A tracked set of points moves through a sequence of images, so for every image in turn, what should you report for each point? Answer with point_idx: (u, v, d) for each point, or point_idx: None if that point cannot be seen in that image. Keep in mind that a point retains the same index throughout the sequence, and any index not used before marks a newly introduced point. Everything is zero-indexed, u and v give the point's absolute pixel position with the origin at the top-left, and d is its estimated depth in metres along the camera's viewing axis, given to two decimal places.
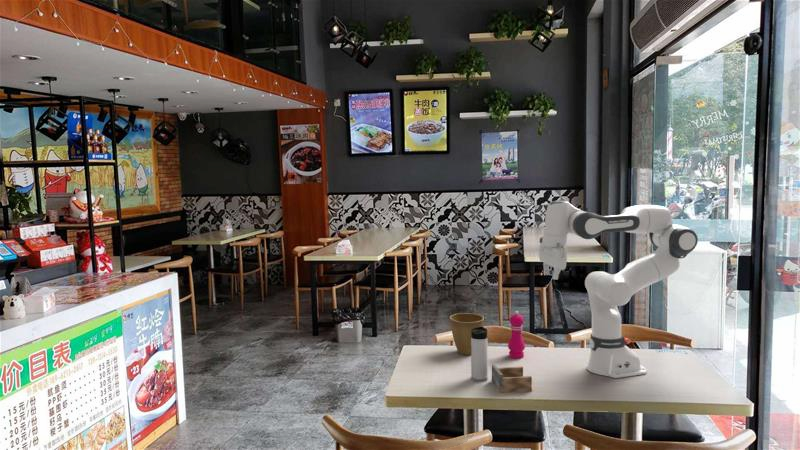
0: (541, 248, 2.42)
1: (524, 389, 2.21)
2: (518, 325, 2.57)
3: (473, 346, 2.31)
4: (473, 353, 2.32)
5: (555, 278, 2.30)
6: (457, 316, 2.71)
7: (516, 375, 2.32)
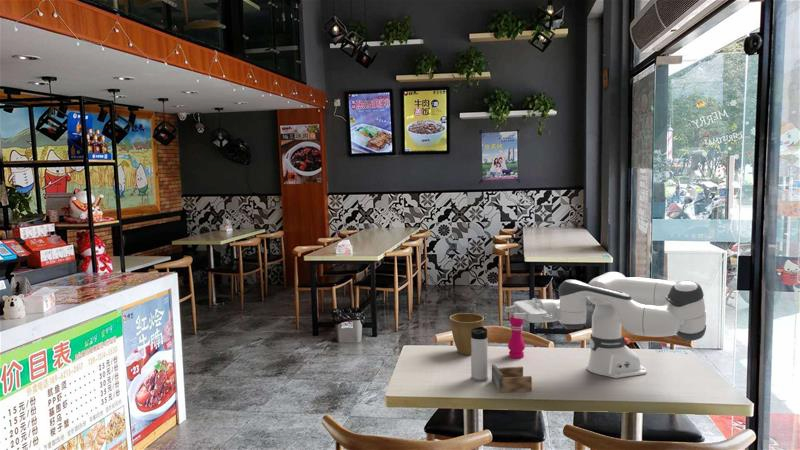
0: (527, 301, 2.42)
1: (524, 389, 2.21)
2: (518, 325, 2.57)
3: (473, 346, 2.31)
4: (473, 353, 2.32)
5: (515, 315, 2.28)
6: (457, 316, 2.71)
7: (516, 375, 2.32)
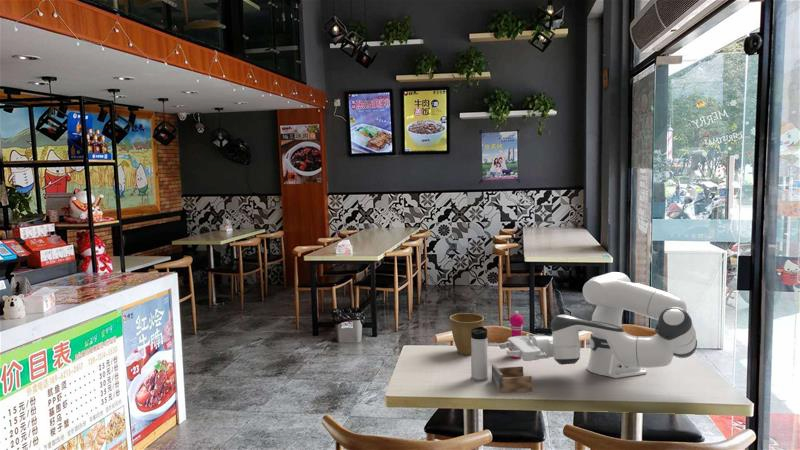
0: (521, 337, 2.43)
1: (524, 389, 2.21)
2: (518, 325, 2.57)
3: (473, 346, 2.31)
4: (473, 353, 2.32)
5: (509, 353, 2.29)
6: (457, 316, 2.71)
7: (516, 375, 2.32)
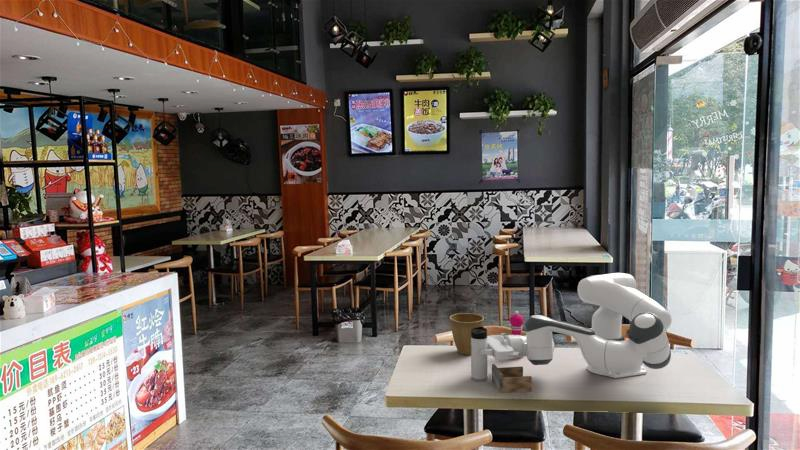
0: (496, 336, 2.42)
1: (524, 389, 2.21)
2: (518, 325, 2.57)
3: (473, 346, 2.32)
4: (473, 353, 2.32)
5: (481, 352, 2.29)
6: (457, 316, 2.71)
7: (516, 375, 2.32)
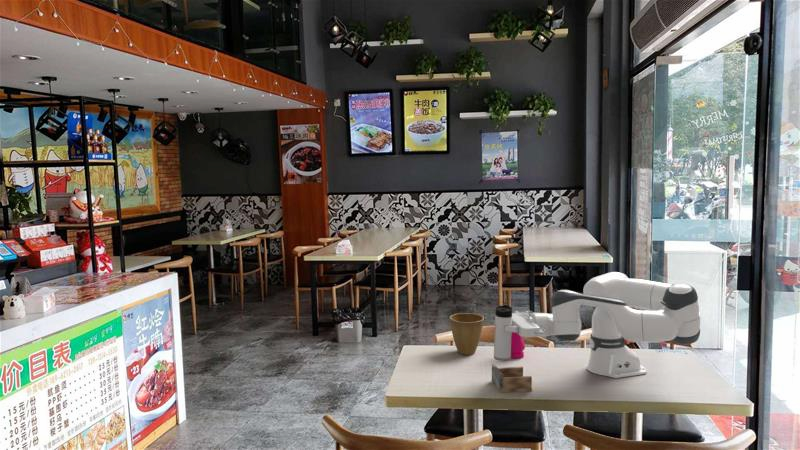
0: (520, 314, 2.35)
1: (524, 389, 2.21)
2: None
3: (497, 324, 2.25)
4: (497, 331, 2.25)
5: (506, 328, 2.22)
6: (457, 316, 2.71)
7: (516, 375, 2.32)
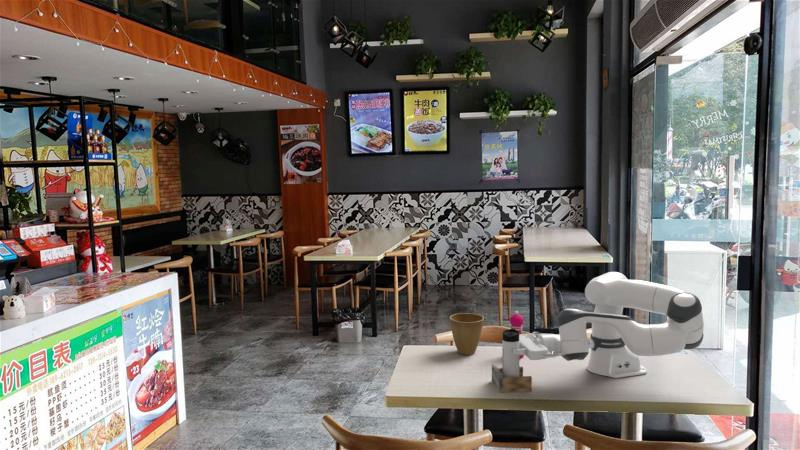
0: (527, 335, 2.34)
1: (524, 389, 2.21)
2: (518, 325, 2.57)
3: (505, 349, 2.24)
4: (505, 356, 2.24)
5: (514, 351, 2.21)
6: (457, 316, 2.71)
7: None
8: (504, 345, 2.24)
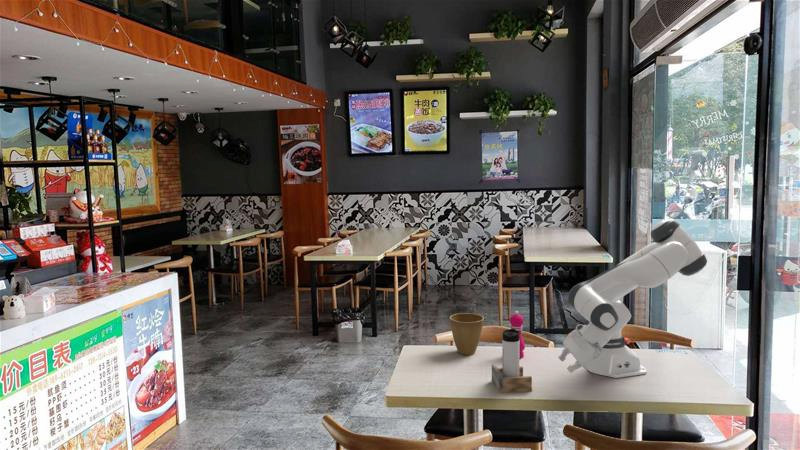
0: (573, 334, 2.22)
1: (524, 389, 2.21)
2: (518, 325, 2.57)
3: (505, 349, 2.24)
4: (505, 356, 2.24)
5: (570, 370, 2.10)
6: (457, 316, 2.71)
7: None
8: (504, 345, 2.24)
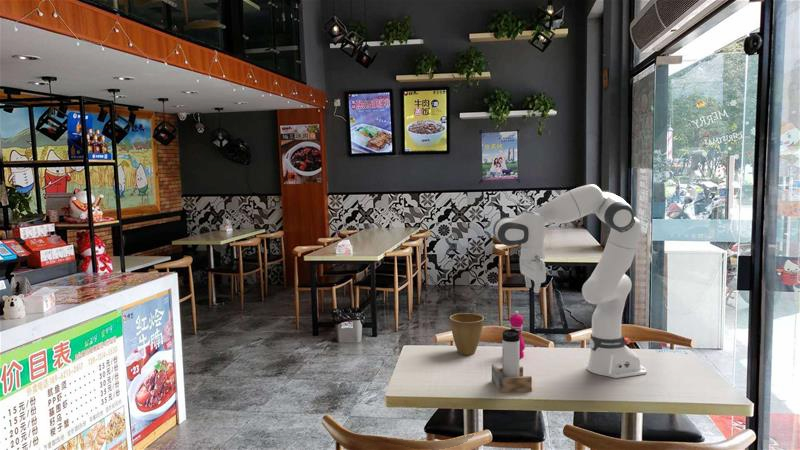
0: (521, 261, 2.37)
1: (524, 389, 2.21)
2: (518, 325, 2.57)
3: (505, 349, 2.24)
4: (505, 356, 2.24)
5: (536, 291, 2.25)
6: (457, 316, 2.71)
7: None
8: (504, 345, 2.24)
